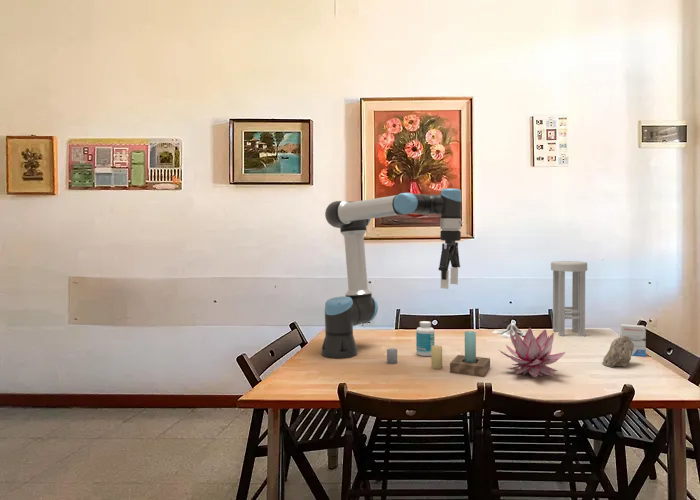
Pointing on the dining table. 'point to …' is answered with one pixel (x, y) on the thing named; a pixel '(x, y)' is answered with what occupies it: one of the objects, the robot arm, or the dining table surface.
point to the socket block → (470, 366)
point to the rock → (619, 352)
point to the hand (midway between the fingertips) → (449, 286)
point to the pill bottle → (424, 338)
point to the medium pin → (436, 356)
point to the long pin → (470, 346)
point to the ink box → (635, 337)
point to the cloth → (511, 328)
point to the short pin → (391, 356)
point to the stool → (577, 296)
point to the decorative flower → (533, 353)
